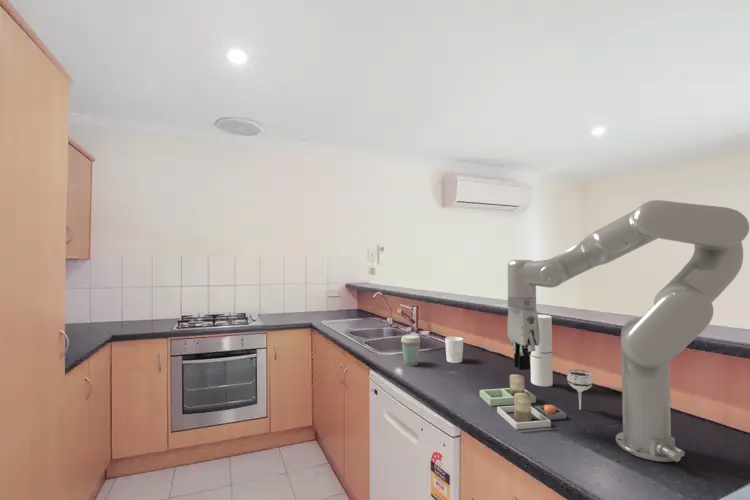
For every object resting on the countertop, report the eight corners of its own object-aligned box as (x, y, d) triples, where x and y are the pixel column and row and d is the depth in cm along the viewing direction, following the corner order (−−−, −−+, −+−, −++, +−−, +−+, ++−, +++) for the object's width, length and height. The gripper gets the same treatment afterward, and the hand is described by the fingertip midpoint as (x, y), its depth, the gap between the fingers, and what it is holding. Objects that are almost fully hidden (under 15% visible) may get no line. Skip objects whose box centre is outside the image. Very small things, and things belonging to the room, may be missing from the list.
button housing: (566, 422, 106) (566, 413, 106) (546, 423, 105) (546, 415, 105) (553, 413, 112) (553, 405, 112) (534, 414, 111) (534, 406, 111)
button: (558, 417, 107) (558, 408, 107) (548, 418, 107) (548, 409, 107) (551, 413, 110) (551, 404, 110) (541, 413, 110) (541, 404, 110)
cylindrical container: (555, 389, 131) (553, 318, 131) (533, 388, 132) (532, 317, 132) (549, 382, 138) (548, 314, 138) (529, 381, 139) (528, 314, 139)
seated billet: (527, 400, 119) (526, 378, 119) (514, 401, 118) (513, 379, 118) (520, 395, 123) (519, 374, 123) (507, 396, 123) (507, 374, 123)
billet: (534, 423, 104) (534, 398, 104) (519, 424, 104) (519, 399, 104) (525, 416, 109) (525, 392, 109) (511, 417, 108) (511, 393, 108)
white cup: (441, 359, 169) (441, 337, 169) (456, 357, 172) (455, 335, 172) (452, 364, 162) (452, 341, 162) (467, 362, 165) (466, 339, 165)
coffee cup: (418, 367, 158) (418, 339, 158) (399, 366, 160) (398, 338, 160) (422, 362, 166) (422, 334, 166) (403, 360, 168) (403, 333, 168)
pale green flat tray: (535, 405, 117) (535, 396, 117) (490, 409, 115) (490, 399, 115) (522, 396, 125) (522, 387, 125) (479, 399, 123) (479, 390, 123)
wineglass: (594, 411, 113) (593, 371, 113) (592, 419, 107) (591, 377, 107) (568, 406, 117) (568, 367, 117) (566, 414, 111) (565, 373, 111)
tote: (550, 430, 101) (550, 420, 101) (516, 432, 100) (516, 423, 100) (528, 412, 112) (528, 404, 112) (497, 415, 111) (497, 406, 111)
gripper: (550, 307, 99) (550, 376, 99) (520, 299, 115) (520, 359, 115) (523, 307, 98) (524, 378, 98) (496, 300, 114) (497, 360, 114)
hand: (522, 367), depth 106 cm, fingers closed
